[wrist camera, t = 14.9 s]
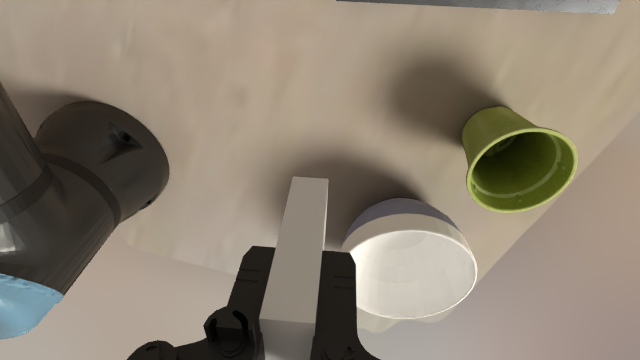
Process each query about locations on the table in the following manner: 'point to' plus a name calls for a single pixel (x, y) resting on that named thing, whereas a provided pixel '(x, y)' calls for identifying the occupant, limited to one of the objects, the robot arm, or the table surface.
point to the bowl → (408, 260)
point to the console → (517, 4)
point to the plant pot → (515, 161)
